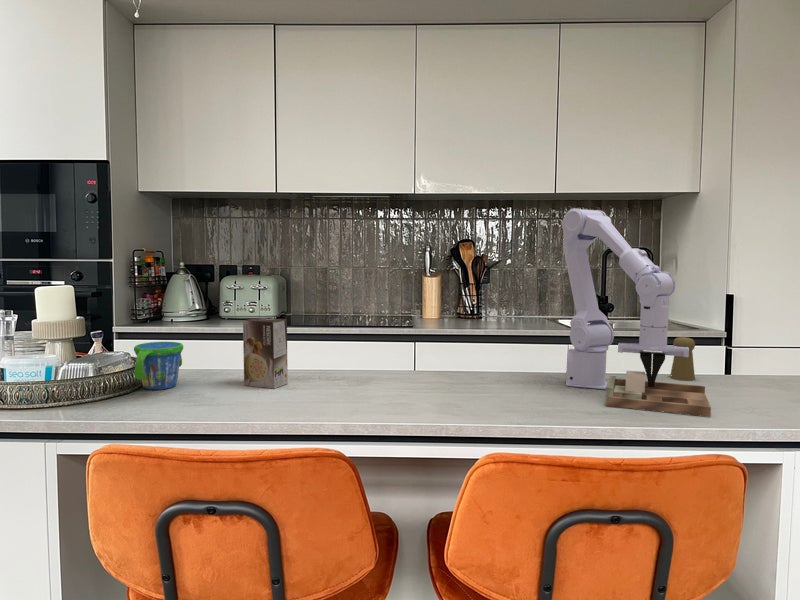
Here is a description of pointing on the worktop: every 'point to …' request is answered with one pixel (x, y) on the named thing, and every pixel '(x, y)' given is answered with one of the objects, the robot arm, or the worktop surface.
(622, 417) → the worktop surface
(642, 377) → the cream block
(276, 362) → the coffee box
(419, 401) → the worktop surface
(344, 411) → the worktop surface
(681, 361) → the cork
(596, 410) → the worktop surface
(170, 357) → the snack cup
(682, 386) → the trap deck
